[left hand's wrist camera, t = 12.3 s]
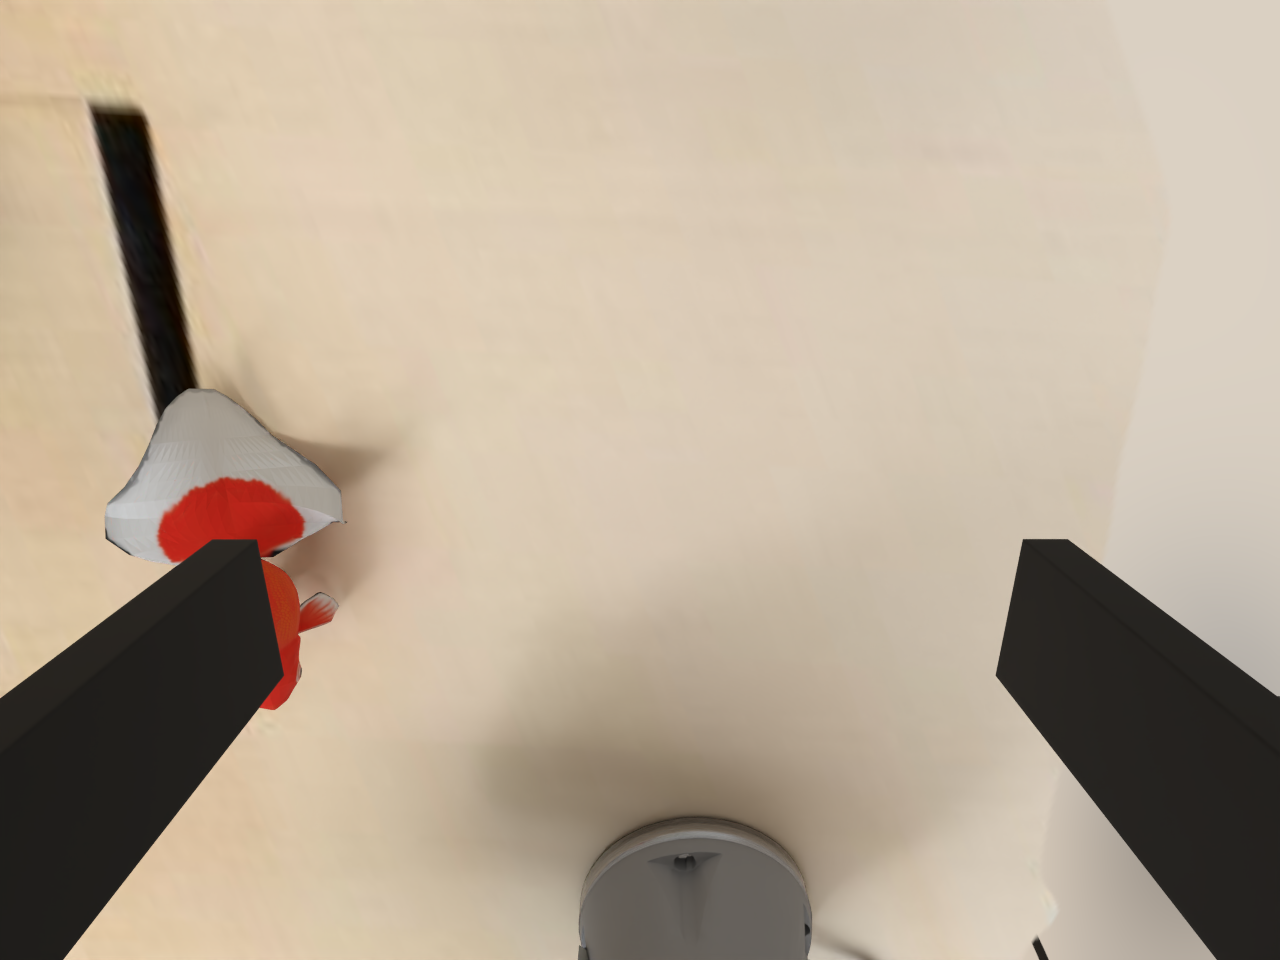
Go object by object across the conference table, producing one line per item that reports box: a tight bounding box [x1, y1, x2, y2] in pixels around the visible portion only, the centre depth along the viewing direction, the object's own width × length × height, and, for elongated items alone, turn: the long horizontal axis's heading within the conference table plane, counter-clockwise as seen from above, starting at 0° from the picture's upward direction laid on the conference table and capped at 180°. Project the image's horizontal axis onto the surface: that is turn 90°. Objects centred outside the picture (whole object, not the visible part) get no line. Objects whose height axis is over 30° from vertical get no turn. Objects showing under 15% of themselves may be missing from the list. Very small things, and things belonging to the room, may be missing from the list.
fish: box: [105, 389, 347, 710], centre depth 36 cm, size 11×16×10 cm
